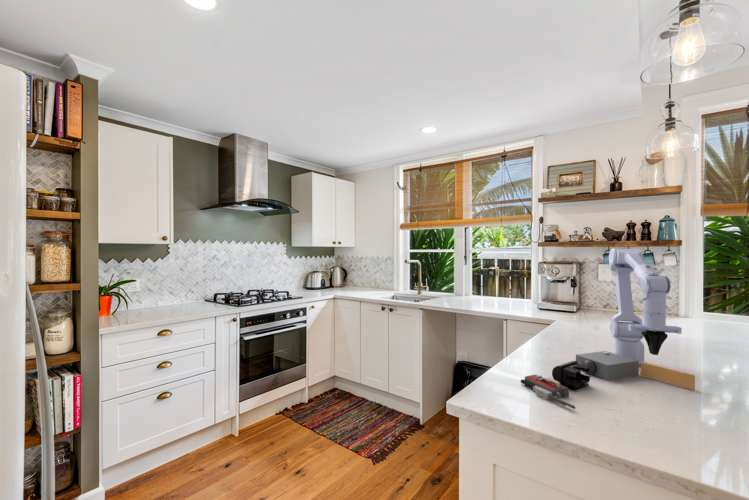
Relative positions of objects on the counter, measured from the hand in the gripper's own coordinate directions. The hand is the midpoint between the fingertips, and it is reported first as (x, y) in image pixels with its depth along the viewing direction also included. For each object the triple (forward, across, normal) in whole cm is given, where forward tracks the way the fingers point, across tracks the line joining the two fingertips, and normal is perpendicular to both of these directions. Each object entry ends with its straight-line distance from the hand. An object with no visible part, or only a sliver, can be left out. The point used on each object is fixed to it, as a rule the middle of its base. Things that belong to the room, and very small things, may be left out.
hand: (653, 354), depth 113 cm
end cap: (+10, -28, -7) cm, 30 cm away
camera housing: (+10, -10, +8) cm, 16 cm away
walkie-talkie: (+10, -36, -17) cm, 41 cm away
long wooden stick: (+9, +4, +1) cm, 10 cm away
